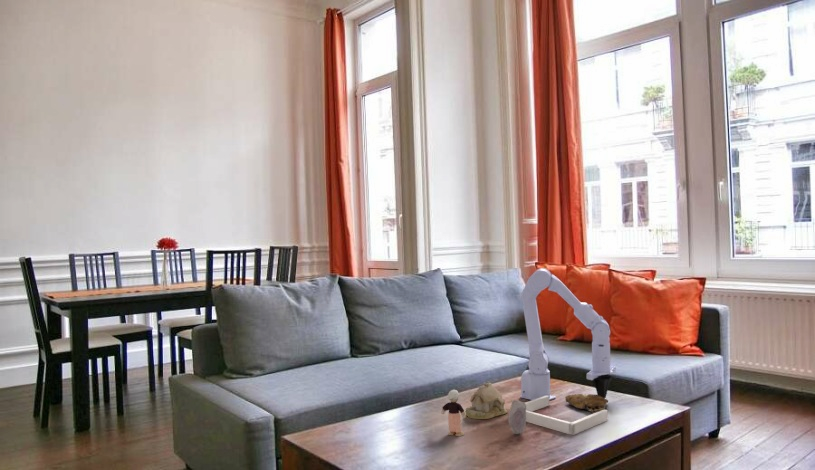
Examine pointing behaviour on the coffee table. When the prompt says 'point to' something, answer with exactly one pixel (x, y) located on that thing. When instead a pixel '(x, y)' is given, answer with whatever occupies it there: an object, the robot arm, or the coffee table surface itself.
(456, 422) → the grandmother figurine
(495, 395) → the ceramic model
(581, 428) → the box
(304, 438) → the coffee table surface
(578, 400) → the decorative rock
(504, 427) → the coffee table surface
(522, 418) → the fossil
